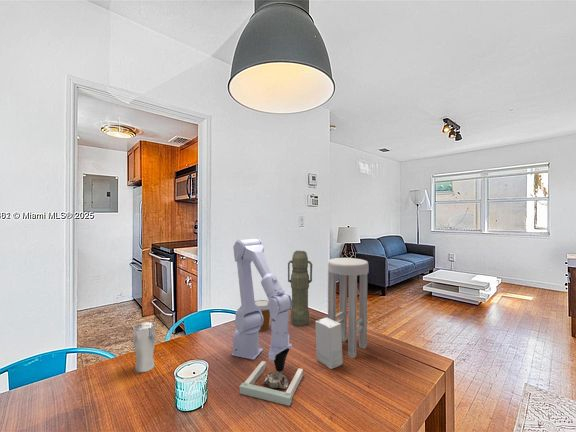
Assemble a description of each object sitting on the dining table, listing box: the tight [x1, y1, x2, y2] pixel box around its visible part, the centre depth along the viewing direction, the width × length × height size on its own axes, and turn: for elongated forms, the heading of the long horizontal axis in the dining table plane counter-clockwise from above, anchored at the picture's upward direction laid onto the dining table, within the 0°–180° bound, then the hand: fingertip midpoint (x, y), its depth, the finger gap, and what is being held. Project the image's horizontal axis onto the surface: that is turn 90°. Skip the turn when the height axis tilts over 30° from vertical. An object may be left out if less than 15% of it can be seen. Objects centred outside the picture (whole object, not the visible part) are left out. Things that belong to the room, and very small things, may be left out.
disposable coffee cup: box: [255, 299, 270, 332], centre depth 130 cm, size 10×10×12 cm
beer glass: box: [132, 321, 157, 374], centre depth 98 cm, size 7×7×15 cm
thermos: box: [287, 250, 313, 327], centre depth 136 cm, size 9×12×35 cm
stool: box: [327, 257, 370, 359], centre depth 112 cm, size 16×16×35 cm
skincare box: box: [315, 316, 344, 370], centre depth 101 cm, size 8×6×15 cm
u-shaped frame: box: [239, 360, 304, 407], centre depth 89 cm, size 16×15×2 cm
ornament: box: [263, 371, 289, 390], centre depth 89 cm, size 8×7×4 cm
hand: (279, 370), depth 94 cm, fingers closed
